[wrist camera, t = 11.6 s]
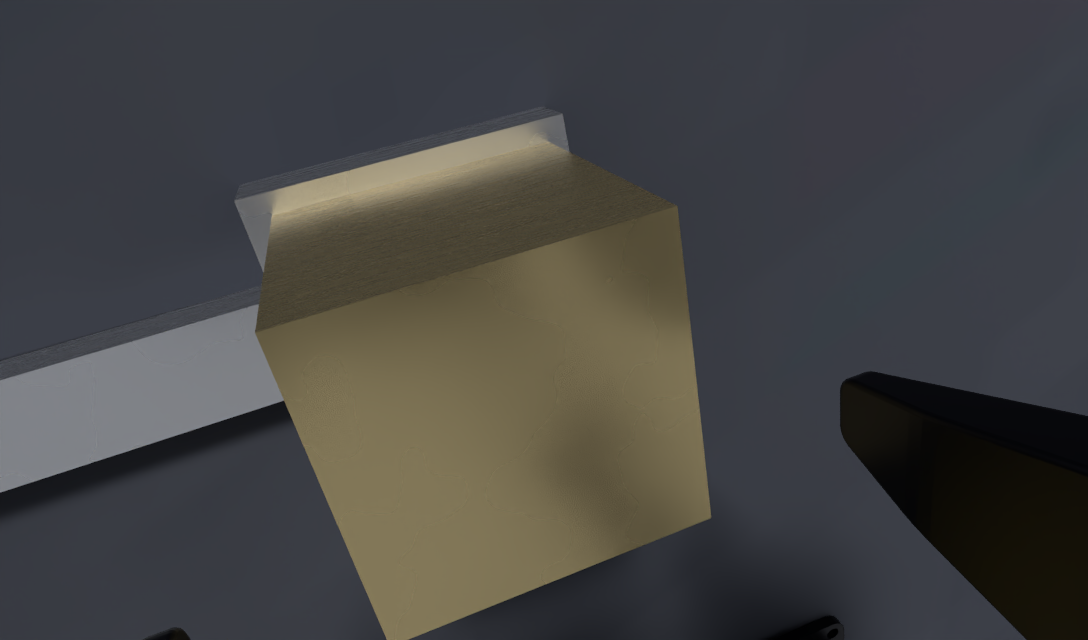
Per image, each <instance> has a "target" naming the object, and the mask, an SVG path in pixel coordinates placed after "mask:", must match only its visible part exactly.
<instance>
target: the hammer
mask: <svg viewBox="0 0 1088 640" xmlns="http://www.w3.org/2000/svg"><path fill="white" fill-rule="evenodd" d="M544 142H550V143H552V144H554V145H556V146H558V147H560V148H562V149H564V150H566V151H568V152H569V148H568V142H567V136H566V131H565V125H564V120H563V114H562V113H559V112H556V111H554V110H551V109H548V108H545V107H539V108H535V109H531V110H527V111H523V112H519V113H516V114H512V115H508V116H504V117H500V118H496V119H492V120H489V121H485V122H481V123H477V124H473V125H469V126H465V127H462V128H458V129H454V130H450V131H446V132H442V133H438V134H435V135H431V136H427V137H423V138H419V139H415V140H411V141H408V142H404V143H400V144H396V145H392V146H388V147H384V148H381V149H377V150H373V151H369V152H365V153H361V154H357V155H354V156H350V157H346V158H342V159H338V160H334V161H330V162H327V163H323V164H319V165H315V166H311V167H307V168H303V169H300V170H296V171H292V172H288V173H284V174H280V175H276V176H273V177H269V178H265V179H261V180H257V181H253V182H249V183H246V184H242V185H240V186H239V189H238V192H237V194H236V197H235V200H234V202H235V204H236V206H237V209H238V211H239V214H240V216H241V219H242V221H243V224H244V226H245V228H246V231H247V233H248V236H249V238H250V241H251V243H252V245H253V248H254V250H255V253H256V255H257V258H258V260H259V263H260V265H261V267H262V270H263V272H264V266H265V260H266V253H267V246H268V239H269V232H270V225H271V218H272V215H276V214H280V213H283V212H287V211H291V210H295V209H298V208H302V207H306V206H310V205H313V204H317V203H321V202H324V201H328V200H332V199H336V198H339V197H343V196H347V195H351V194H354V193H358V192H362V191H365V190H369V189H373V188H377V187H380V186H384V185H388V184H392V183H395V182H399V181H403V180H406V179H410V178H414V177H418V176H421V175H425V174H429V173H433V172H436V171H440V170H444V169H447V168H451V167H455V166H459V165H462V164H466V163H470V162H473V161H477V160H481V159H485V158H488V157H492V156H496V155H500V154H503V153H507V152H511V151H514V150H518V149H522V148H526V147H529V146H533V145H537V144H541V143H544ZM261 287H262V285H261V286H258V287H254V288H251V289H247V290H244V291H240V292H237V293H233V294H230V295H227V296H223V297H220V298H216V299H213V300H209V301H206V302H202V303H199V304H196V305H192V306H189V307H185V308H182V309H178V310H175V311H171V312H168V313H165V314H161V315H158V316H154V317H151V318H147V319H144V320H140V321H137V322H134V323H130V324H127V325H123V326H120V327H116V328H113V329H109V330H106V331H103V332H99V333H96V334H92V335H89V336H85V337H82V338H79V339H75V340H72V341H68V342H65V343H61V344H58V345H54V346H51V347H48V348H44V349H41V350H37V351H34V352H30V353H27V354H23V355H20V356H17V357H13V358H10V359H6V360H3V361H0V492H3V491H6V490H10V489H13V488H16V487H19V486H22V485H25V484H28V483H31V482H34V481H37V480H40V479H43V478H47V477H50V476H53V475H56V474H59V473H62V472H65V471H68V470H71V469H74V468H77V467H81V466H84V465H87V464H90V463H93V462H96V461H99V460H102V459H105V458H108V457H111V456H114V455H118V454H121V453H124V452H127V451H130V450H133V449H136V448H139V447H142V446H145V445H148V444H151V443H155V442H158V441H161V440H164V439H167V438H170V437H173V436H176V435H179V434H182V433H185V432H188V431H192V430H195V429H198V428H201V427H204V426H207V425H210V424H213V423H216V422H219V421H222V420H225V419H229V418H232V417H235V416H238V415H241V414H244V413H247V412H250V411H253V410H256V409H259V408H263V407H266V406H269V405H272V404H275V403H278V402H281V401H284V399H283V397H282V395H281V392H280V390H279V388H278V385H277V383H276V381H275V378H274V376H273V374H272V371H271V369H270V367H269V364H268V362H267V360H266V357H265V355H264V353H263V350H262V348H261V346H260V343H259V341H258V339H257V336H256V334H255V328H256V321H257V314H258V308H259V301H260V294H261Z"/></svg>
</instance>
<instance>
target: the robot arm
mask: <svg viewBox="0 0 1088 640" xmlns="http://www.w3.org/2000/svg"><path fill="white" fill-rule="evenodd" d="M840 427H841V432H842V435H843V438H844V440H845V441H846V443H847V445H848V446H849V447H850V448H851V450H852V451H853V452H854V453H855V455H856V456H857V457H858V458H859V459H860V461H861V462H862V463H863V464H864V466H865V467H866V468H867V469H868V471H869V472H870V473H871V474H872V475H873V477H874V478H875V479H876V480H877V482H878V483H879V484H880V485H881V486H882V488H883V489H884V490H885V491H886V493H887V494H888V495H889V496H890V497H891V499H892V500H893V501H894V502H895V504H896V505H897V506H898V507H899V509H900V510H901V511H902V512H903V513H904V515H905V516H906V517H907V518H908V519H909V520H910V521H911V523H912V524H913V525H914V526H915V527H916V528H917V529H918V530H919V531H920V533H921V534H922V535H923V536H924V537H925V538H926V539H927V540H928V541H929V542H930V543H931V544H932V545H933V546H934V547H935V548H936V549H937V550H938V551H939V552H940V553H941V554H942V555H943V556H944V557H945V558H946V559H947V560H948V561H949V562H950V563H951V564H952V565H953V566H954V567H955V568H956V569H957V570H958V571H959V572H960V573H961V574H962V575H963V576H964V577H965V578H966V579H967V580H968V581H969V582H970V583H971V584H972V585H973V586H974V587H975V588H976V589H977V590H978V591H979V592H980V593H981V594H982V595H983V596H984V597H985V598H986V599H987V600H988V601H989V602H990V603H991V604H992V605H993V606H994V607H995V608H996V609H997V610H998V611H999V612H1000V613H1001V614H1002V615H1003V616H1004V617H1005V618H1006V619H1007V620H1008V621H1009V622H1010V623H1011V624H1012V626H1013V627H1014V628H1015V629H1016V630H1017V631H1018V632H1019V633H1020V634H1021V635H1022V636H1023V637H1024V638H1025V639H1026V640H1088V416H1085V415H1080V414H1075V413H1071V412H1066V411H1061V410H1056V409H1051V408H1046V407H1042V406H1037V405H1032V404H1027V403H1022V402H1017V401H1013V400H1008V399H1003V398H998V397H993V396H988V395H984V394H979V393H974V392H969V391H964V390H960V389H955V388H950V387H945V386H940V385H935V384H931V383H926V382H921V381H916V380H911V379H906V378H902V377H897V376H892V375H887V374H882V373H878V372H872V371H870V372H864V373H862V374H859V375H856V376H853V377H851V378H848V379H846V380H845V381H844V382H843V383H842V385H841V388H840ZM143 640H190V638H189V636H188V635H187V634H186V632H185V631H184V630H182V629H181V628H171V629H168V630H165V631H163V632H160V633H157V634H154V635H152V636H149V637H147V638H145V639H143ZM774 640H844V627H843V625H842V624H841V623H840V622H839V621H838V619H837V618H836V617H834V616H827V617H825V618H822V619H820V620H818V621H815V622H813V623H811V624H809V625H806V626H804V627H802V628H799V629H797V630H795V631H793V632H790V633H788V634H786V635H783V636H781V637H779V638H777V639H774Z"/></svg>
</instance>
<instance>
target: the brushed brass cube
mask: <svg viewBox="0 0 1088 640" xmlns="http://www.w3.org/2000/svg"><path fill="white" fill-rule="evenodd" d="M255 334H256V336H257V339H258V341H259V343H260V346H261V348H262V350H263V353H264V355H265V357H266V360H267V362H268V364H269V367H270V369H271V371H272V374H273V376H274V378H275V381H276V383H277V385H278V388H279V390H280V392H281V395H282V397H283V399H284V402H285V404H286V406H287V409H288V411H289V413H290V415H291V418H292V420H293V422H294V425H295V427H296V429H297V432H298V434H299V436H300V439H301V441H302V443H303V446H304V448H305V450H306V453H307V455H308V457H309V460H310V462H311V464H312V467H313V469H314V471H315V474H316V476H317V478H318V481H319V483H320V485H321V488H322V490H323V492H324V495H325V497H326V499H327V501H328V504H329V506H330V508H331V511H332V513H333V515H334V518H335V520H336V522H337V525H338V527H339V529H340V532H341V534H342V536H343V539H344V541H345V543H346V546H347V548H348V550H349V553H350V555H351V557H352V560H353V562H354V564H355V567H356V569H357V571H358V574H359V576H360V578H361V581H362V583H363V585H364V588H365V590H366V592H367V594H368V597H369V599H370V601H371V604H372V606H373V608H374V611H375V613H376V615H377V618H378V620H379V622H380V625H381V627H382V629H383V632H384V634H385V636H386V639H387V640H408V639H411V638H413V637H416V636H418V635H421V634H423V633H426V632H428V631H431V630H433V629H436V628H438V627H441V626H443V625H446V624H448V623H451V622H453V621H456V620H458V619H461V618H463V617H466V616H468V615H471V614H473V613H476V612H478V611H481V610H483V609H486V608H488V607H491V606H493V605H496V604H498V603H501V602H503V601H505V600H508V599H510V598H513V597H515V596H518V595H520V594H523V593H525V592H528V591H530V590H533V589H535V588H538V587H540V586H543V585H545V584H548V583H550V582H553V581H555V580H558V579H560V578H563V577H565V576H568V575H570V574H573V573H575V572H578V571H580V570H583V569H585V568H588V567H590V566H593V565H595V564H598V563H600V562H603V561H605V560H608V559H610V558H613V557H615V556H618V555H620V554H623V553H625V552H628V551H630V550H633V549H635V548H638V547H640V546H643V545H645V544H648V543H650V542H653V541H655V540H657V539H660V538H662V537H665V536H667V535H670V534H672V533H675V532H677V531H680V530H682V529H685V528H687V527H690V526H692V525H695V524H697V523H700V522H702V521H705V520H707V519H710V518H711V511H710V502H709V492H708V483H707V474H706V465H705V456H704V446H703V437H702V428H701V419H700V410H699V400H698V391H697V382H696V373H695V364H694V354H693V345H692V336H691V327H690V317H689V308H688V299H687V290H686V281H685V271H684V262H683V253H682V244H681V235H680V225H679V216H678V207H677V206H676V205H674V204H672V203H670V202H668V201H666V200H664V199H662V198H660V197H658V196H656V195H654V194H652V193H650V192H648V191H646V190H644V189H642V188H640V187H638V186H636V185H634V184H632V183H630V182H628V181H626V180H624V179H622V178H620V177H618V176H616V175H614V174H612V173H610V172H608V171H606V170H604V169H602V168H600V167H598V166H596V165H594V164H592V163H590V162H588V161H586V160H584V159H582V158H580V157H578V156H576V155H574V154H572V153H570V152H568V151H566V150H564V149H562V148H560V147H558V146H556V145H554V144H552V143H550V142H544V143H541V144H537V145H533V146H529V147H526V148H522V149H518V150H514V151H511V152H507V153H503V154H500V155H496V156H492V157H488V158H485V159H481V160H477V161H473V162H470V163H466V164H462V165H459V166H455V167H451V168H447V169H444V170H440V171H436V172H433V173H429V174H425V175H421V176H418V177H414V178H410V179H406V180H403V181H399V182H395V183H392V184H388V185H384V186H380V187H377V188H373V189H369V190H365V191H362V192H358V193H354V194H351V195H347V196H343V197H339V198H336V199H332V200H328V201H324V202H321V203H317V204H313V205H310V206H306V207H302V208H298V209H295V210H291V211H287V212H283V213H280V214H276V215H272V218H271V225H270V232H269V239H268V246H267V253H266V260H265V266H264V273H263V280H262V287H261V294H260V301H259V308H258V314H257V321H256V328H255Z"/></svg>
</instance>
